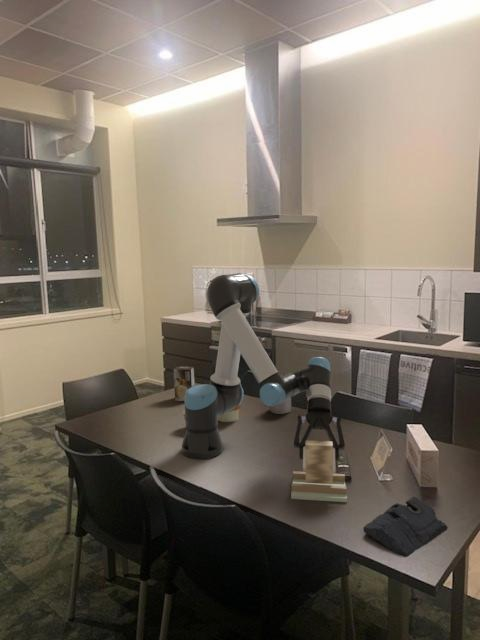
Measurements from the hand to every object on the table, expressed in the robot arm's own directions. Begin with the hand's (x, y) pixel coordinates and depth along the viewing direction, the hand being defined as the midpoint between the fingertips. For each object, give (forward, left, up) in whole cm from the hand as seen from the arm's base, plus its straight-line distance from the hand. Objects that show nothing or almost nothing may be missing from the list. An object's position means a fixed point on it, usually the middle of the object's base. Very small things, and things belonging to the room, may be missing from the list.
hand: (319, 470), depth 145 cm
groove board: (0, +3, -7) cm, 8 cm away
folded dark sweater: (+22, -16, -8) cm, 28 cm away
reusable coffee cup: (-39, +62, -8) cm, 74 cm away
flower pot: (-50, +49, -8) cm, 70 cm away
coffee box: (-65, +87, -8) cm, 109 cm away
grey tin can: (-17, +75, -8) cm, 77 cm away
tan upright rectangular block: (0, +3, -5) cm, 5 cm away
